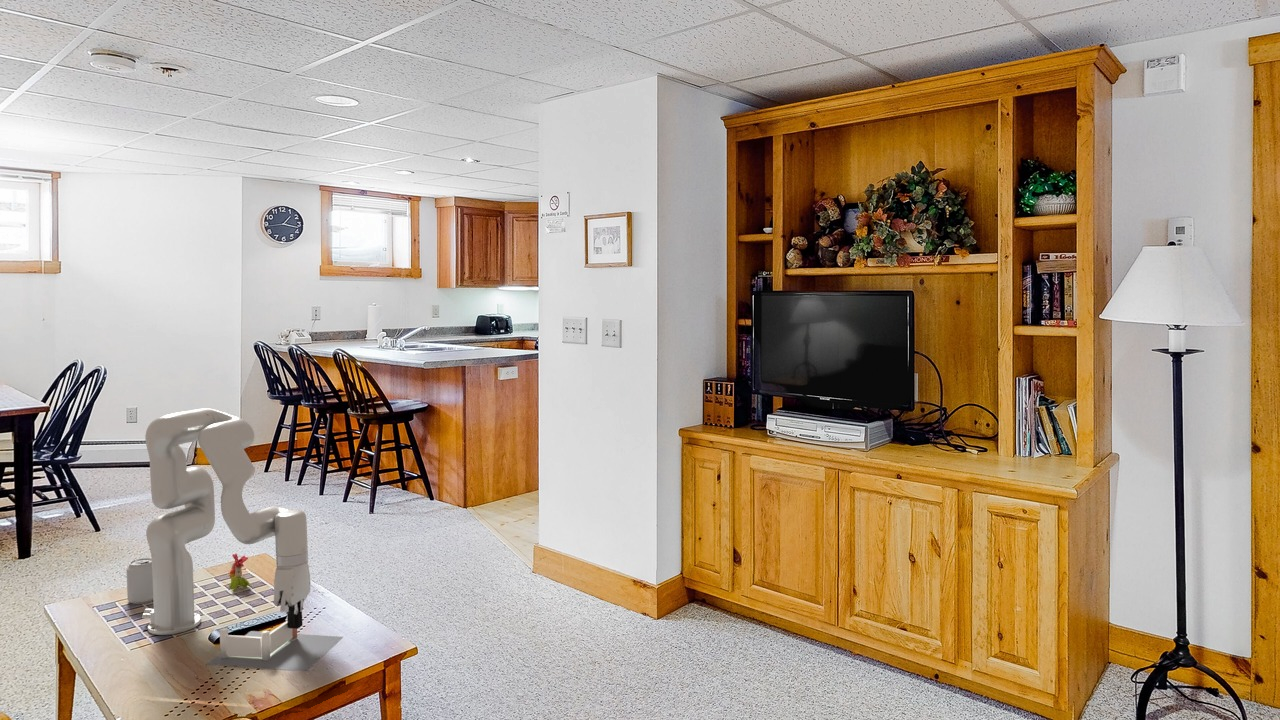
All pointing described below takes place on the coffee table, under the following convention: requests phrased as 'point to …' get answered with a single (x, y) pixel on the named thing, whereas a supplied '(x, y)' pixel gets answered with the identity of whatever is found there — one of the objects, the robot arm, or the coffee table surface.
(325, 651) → the card
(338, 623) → the coffee table surface
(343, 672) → the coffee table surface
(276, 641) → the fence swing section
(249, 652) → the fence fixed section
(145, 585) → the can
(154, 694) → the coffee table surface
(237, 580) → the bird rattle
